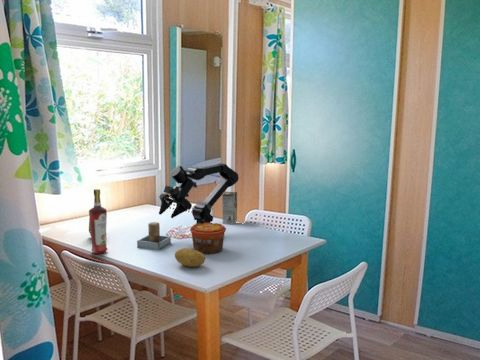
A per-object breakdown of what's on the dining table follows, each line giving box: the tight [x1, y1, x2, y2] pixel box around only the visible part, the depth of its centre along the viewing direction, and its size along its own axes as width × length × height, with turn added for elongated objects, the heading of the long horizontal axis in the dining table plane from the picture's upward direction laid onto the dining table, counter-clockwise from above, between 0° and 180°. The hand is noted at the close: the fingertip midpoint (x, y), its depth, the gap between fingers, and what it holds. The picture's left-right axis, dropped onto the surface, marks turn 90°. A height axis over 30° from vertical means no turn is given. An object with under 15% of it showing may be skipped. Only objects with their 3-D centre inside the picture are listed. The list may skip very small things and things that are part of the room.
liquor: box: [88, 188, 108, 255], centre depth 211 cm, size 7×7×28 cm
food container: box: [189, 222, 227, 255], centre depth 217 cm, size 16×16×11 cm
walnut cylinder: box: [147, 221, 161, 243], centre depth 224 cm, size 5×5×10 cm
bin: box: [136, 234, 172, 251], centre depth 224 cm, size 11×11×3 cm
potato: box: [174, 247, 206, 268], centre depth 197 cm, size 9×13×7 cm
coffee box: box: [222, 191, 238, 225], centre depth 266 cm, size 9×6×16 cm
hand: (165, 215), depth 227 cm, fingers open, 9 cm apart
